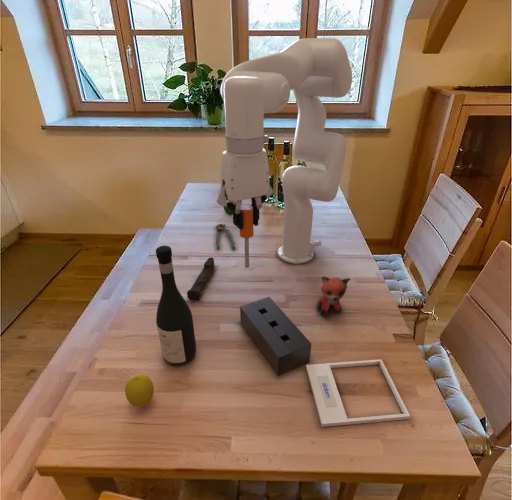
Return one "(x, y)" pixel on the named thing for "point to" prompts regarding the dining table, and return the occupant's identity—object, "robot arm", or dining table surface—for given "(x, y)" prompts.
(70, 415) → the dining table surface
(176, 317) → the wine bottle
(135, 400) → the lemon
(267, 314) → the rack
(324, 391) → the photo frame
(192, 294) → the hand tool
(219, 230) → the pliers
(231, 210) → the bell pepper
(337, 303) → the stuffed fox
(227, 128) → the robot arm
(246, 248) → the orange tool handle
